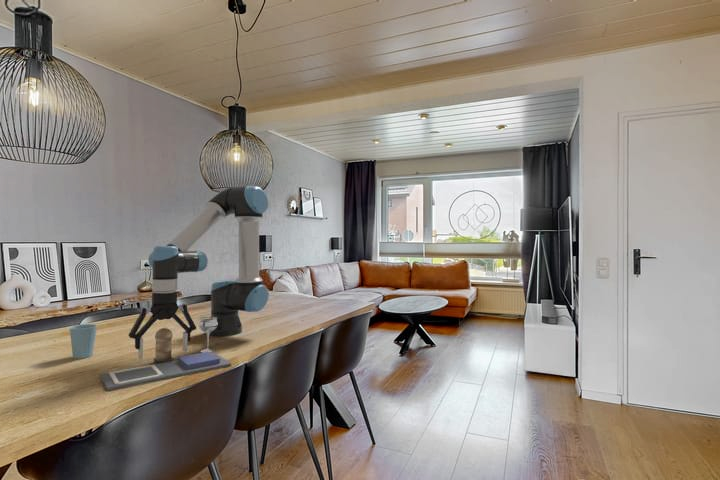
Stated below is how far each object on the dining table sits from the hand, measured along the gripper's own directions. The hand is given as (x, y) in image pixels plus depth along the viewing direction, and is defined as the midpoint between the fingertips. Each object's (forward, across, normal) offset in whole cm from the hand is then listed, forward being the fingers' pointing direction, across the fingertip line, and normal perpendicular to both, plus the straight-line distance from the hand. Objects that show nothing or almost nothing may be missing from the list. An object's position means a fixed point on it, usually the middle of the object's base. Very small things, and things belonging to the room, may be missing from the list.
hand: (163, 354), depth 127 cm
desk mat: (+2, +1, +11) cm, 11 cm away
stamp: (+2, 0, 0) cm, 2 cm away
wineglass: (+2, -16, -4) cm, 17 cm away
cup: (+2, +20, -23) cm, 31 cm away
